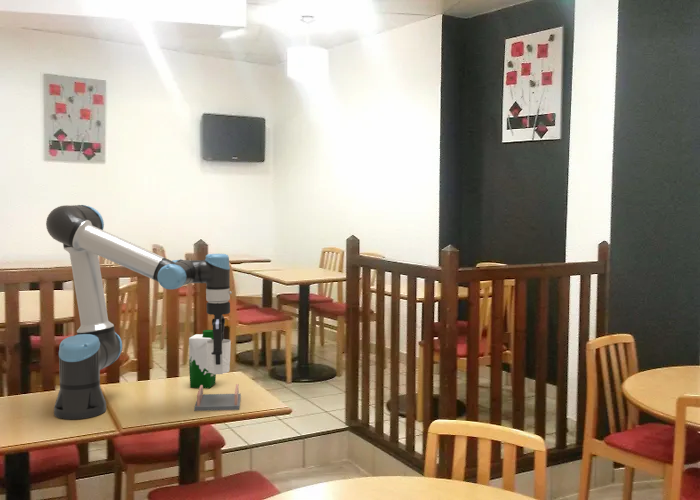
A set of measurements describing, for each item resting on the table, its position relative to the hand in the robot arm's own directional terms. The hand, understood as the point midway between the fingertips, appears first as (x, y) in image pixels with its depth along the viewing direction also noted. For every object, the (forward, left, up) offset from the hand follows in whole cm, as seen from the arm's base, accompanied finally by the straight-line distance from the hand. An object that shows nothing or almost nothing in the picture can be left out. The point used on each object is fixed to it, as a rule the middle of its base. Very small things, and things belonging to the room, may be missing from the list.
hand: (219, 370), depth 222 cm
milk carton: (-7, +23, -11) cm, 26 cm away
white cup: (0, 0, 0) cm, 0 cm away
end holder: (0, 0, -11) cm, 11 cm away
